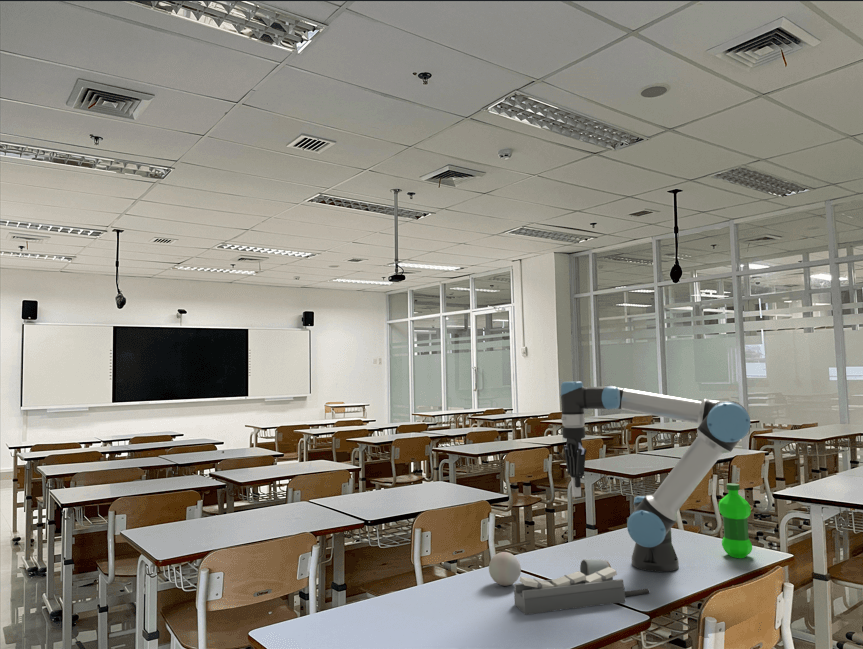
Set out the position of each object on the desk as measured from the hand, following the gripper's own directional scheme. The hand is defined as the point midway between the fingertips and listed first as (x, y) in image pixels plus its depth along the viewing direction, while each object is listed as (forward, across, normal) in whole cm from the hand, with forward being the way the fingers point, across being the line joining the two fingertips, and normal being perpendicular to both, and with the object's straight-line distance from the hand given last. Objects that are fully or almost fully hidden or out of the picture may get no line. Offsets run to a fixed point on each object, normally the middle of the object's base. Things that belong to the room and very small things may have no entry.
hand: (576, 496), depth 215 cm
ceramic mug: (+25, +13, -2) cm, 28 cm away
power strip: (+24, +27, -12) cm, 38 cm away
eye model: (+25, +6, -29) cm, 38 cm away
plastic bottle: (+25, +4, +59) cm, 64 cm away
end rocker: (+18, +27, -27) cm, 42 cm away
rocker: (+18, +27, -7) cm, 33 cm away
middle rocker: (+18, +27, -17) cm, 36 cm away
